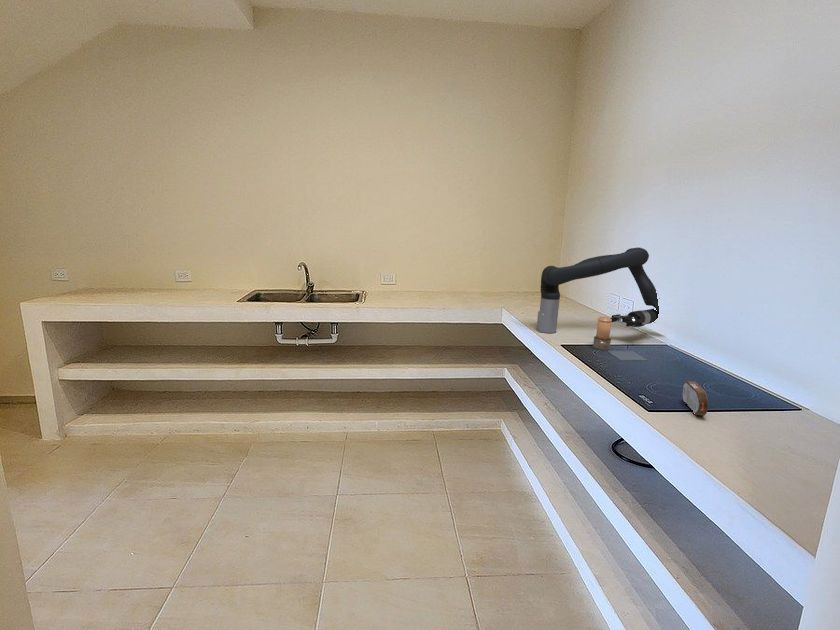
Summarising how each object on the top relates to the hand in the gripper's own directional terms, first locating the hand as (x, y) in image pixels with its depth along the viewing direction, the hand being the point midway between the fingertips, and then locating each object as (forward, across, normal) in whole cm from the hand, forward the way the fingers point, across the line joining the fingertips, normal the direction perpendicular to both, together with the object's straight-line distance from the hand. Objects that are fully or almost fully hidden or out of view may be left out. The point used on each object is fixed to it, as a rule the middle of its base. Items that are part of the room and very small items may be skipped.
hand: (618, 322), depth 221 cm
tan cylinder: (+11, 0, +7) cm, 13 cm away
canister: (+11, 0, +11) cm, 16 cm away
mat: (+11, +13, +11) cm, 20 cm away
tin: (+43, +57, +11) cm, 72 cm away
